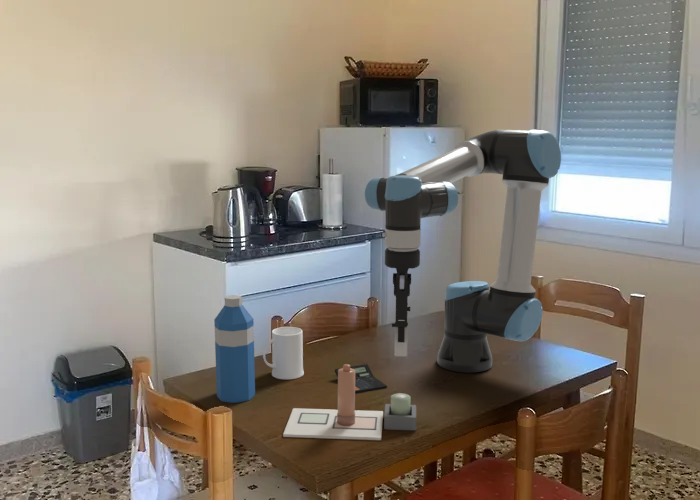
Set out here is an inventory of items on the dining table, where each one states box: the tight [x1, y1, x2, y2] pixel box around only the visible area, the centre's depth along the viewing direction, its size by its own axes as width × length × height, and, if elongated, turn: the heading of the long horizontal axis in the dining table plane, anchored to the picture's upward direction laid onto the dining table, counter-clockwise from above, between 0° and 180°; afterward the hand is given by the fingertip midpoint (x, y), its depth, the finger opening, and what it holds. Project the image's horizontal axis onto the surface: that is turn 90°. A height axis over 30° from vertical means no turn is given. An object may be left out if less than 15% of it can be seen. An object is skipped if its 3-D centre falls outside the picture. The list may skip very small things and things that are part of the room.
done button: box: [390, 392, 412, 415], centre depth 160 cm, size 4×4×4 cm
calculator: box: [334, 363, 388, 394], centre depth 185 cm, size 9×12×3 cm
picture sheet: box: [282, 407, 384, 441], centre depth 160 cm, size 21×14×1 cm, turn 86°
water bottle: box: [213, 294, 256, 404], centre depth 174 cm, size 9×9×25 cm
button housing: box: [383, 403, 417, 431], centre depth 160 cm, size 7×7×3 cm
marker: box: [337, 363, 356, 426], centre depth 158 cm, size 4×4×13 cm
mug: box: [262, 326, 305, 381], centre depth 189 cm, size 12×8×12 cm
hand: (401, 347), depth 157 cm, fingers open, 10 cm apart
